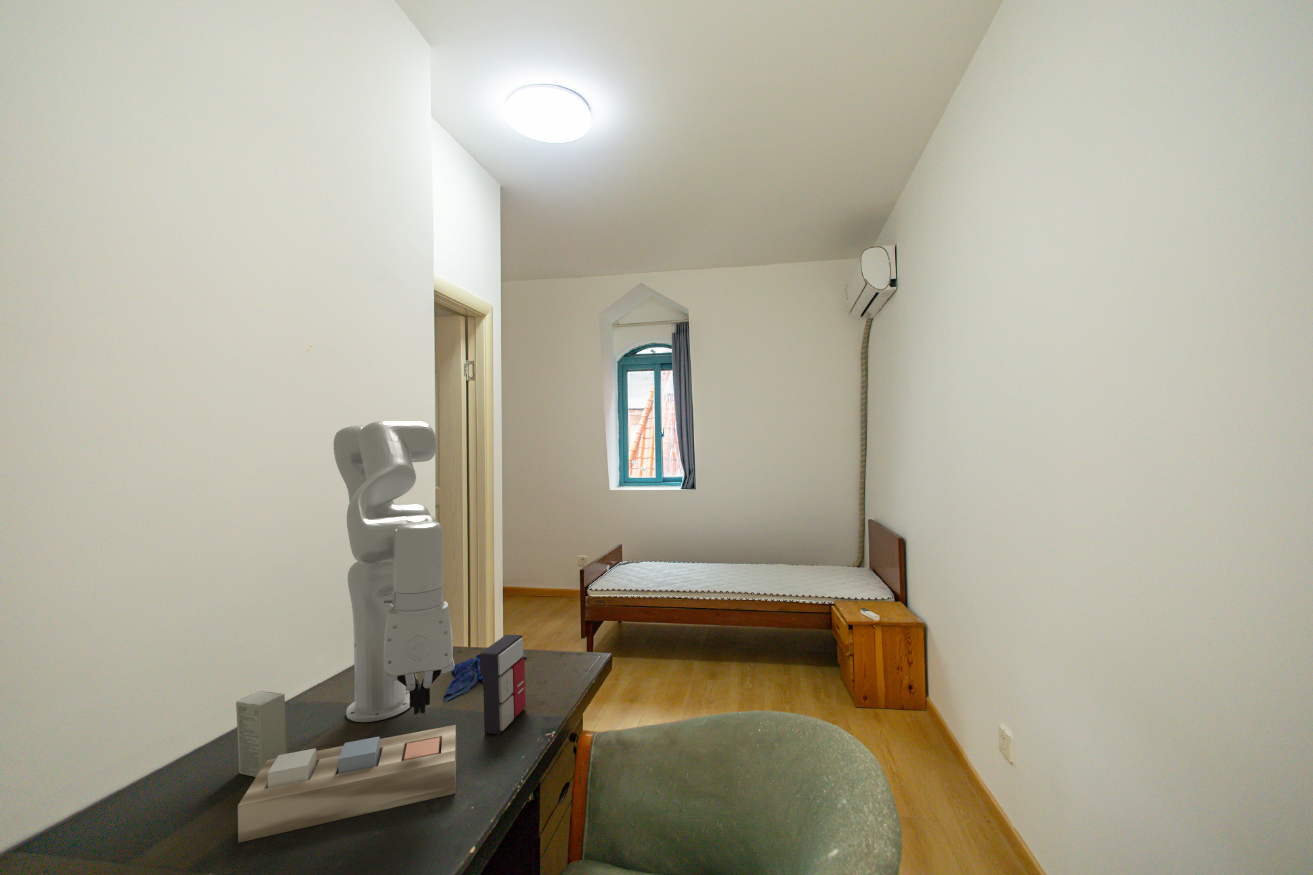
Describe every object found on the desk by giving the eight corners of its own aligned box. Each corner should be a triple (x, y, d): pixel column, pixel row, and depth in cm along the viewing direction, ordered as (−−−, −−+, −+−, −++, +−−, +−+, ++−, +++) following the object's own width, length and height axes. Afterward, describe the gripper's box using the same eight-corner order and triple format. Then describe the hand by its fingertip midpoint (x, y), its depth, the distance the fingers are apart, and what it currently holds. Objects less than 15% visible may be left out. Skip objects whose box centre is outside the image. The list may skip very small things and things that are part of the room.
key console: (267, 792, 86) (267, 760, 86) (456, 753, 96) (455, 724, 96) (238, 842, 75) (237, 805, 75) (455, 793, 84) (454, 760, 84)
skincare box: (288, 765, 94) (287, 693, 94) (262, 780, 89) (261, 705, 90) (262, 759, 96) (261, 689, 96) (235, 773, 92) (234, 700, 92)
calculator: (502, 735, 101) (500, 654, 102) (481, 734, 102) (479, 653, 102) (527, 708, 112) (526, 634, 112) (508, 706, 113) (506, 633, 113)
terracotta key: (407, 762, 90) (407, 743, 90) (440, 755, 91) (439, 737, 92) (404, 778, 85) (404, 759, 85) (438, 771, 87) (438, 752, 87)
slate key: (345, 761, 87) (344, 742, 87) (380, 755, 88) (379, 736, 89) (338, 779, 82) (338, 759, 82) (375, 771, 84) (375, 751, 84)
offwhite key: (278, 774, 84) (278, 755, 84) (316, 767, 85) (316, 748, 86) (267, 793, 79) (267, 772, 79) (307, 785, 81) (307, 765, 81)
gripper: (363, 610, 83) (365, 730, 83) (467, 599, 88) (468, 713, 88) (371, 596, 90) (372, 707, 90) (467, 587, 95) (468, 692, 95)
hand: (420, 709), depth 89 cm, fingers closed
